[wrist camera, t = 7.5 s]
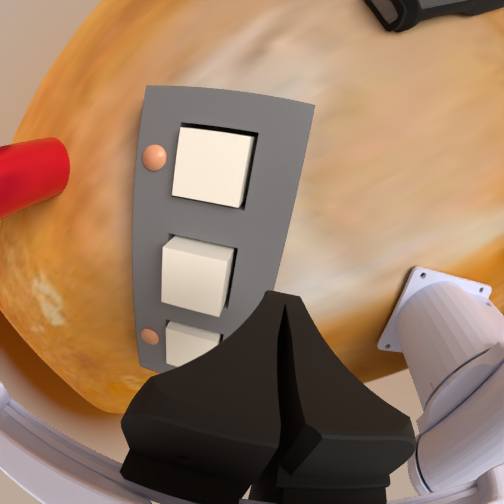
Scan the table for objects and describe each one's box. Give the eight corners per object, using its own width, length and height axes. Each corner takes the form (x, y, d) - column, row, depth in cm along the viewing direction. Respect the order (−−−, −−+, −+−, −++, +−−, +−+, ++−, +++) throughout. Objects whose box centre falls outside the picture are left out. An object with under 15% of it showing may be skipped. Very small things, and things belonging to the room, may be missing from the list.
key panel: (311, 109, 16) (315, 104, 13) (248, 376, 25) (244, 397, 23) (163, 90, 16) (145, 85, 14) (150, 349, 26) (139, 367, 23)
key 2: (226, 316, 23) (217, 342, 20) (220, 351, 24) (212, 376, 21) (179, 305, 23) (165, 328, 20) (178, 339, 25) (166, 363, 22)
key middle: (237, 241, 19) (227, 261, 16) (229, 291, 21) (219, 317, 18) (181, 229, 19) (162, 247, 16) (177, 279, 21) (161, 301, 18)
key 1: (257, 137, 17) (250, 136, 14) (247, 196, 19) (238, 207, 16) (198, 128, 17) (180, 127, 14) (190, 185, 19) (171, 195, 16)
